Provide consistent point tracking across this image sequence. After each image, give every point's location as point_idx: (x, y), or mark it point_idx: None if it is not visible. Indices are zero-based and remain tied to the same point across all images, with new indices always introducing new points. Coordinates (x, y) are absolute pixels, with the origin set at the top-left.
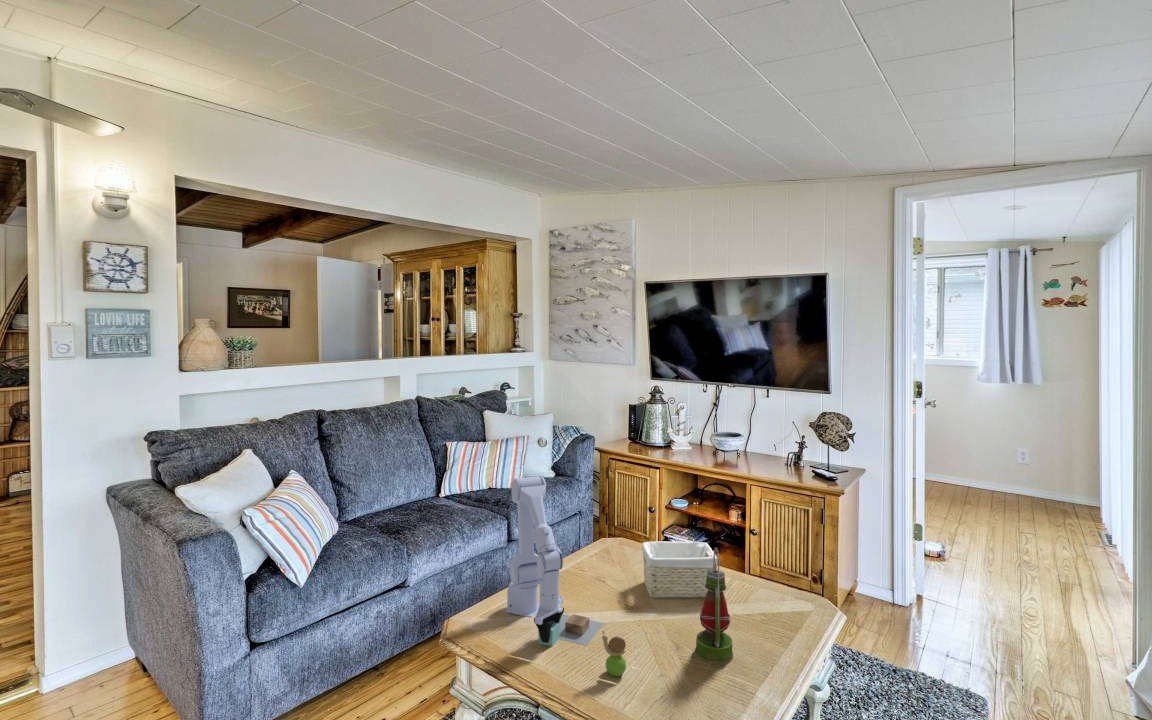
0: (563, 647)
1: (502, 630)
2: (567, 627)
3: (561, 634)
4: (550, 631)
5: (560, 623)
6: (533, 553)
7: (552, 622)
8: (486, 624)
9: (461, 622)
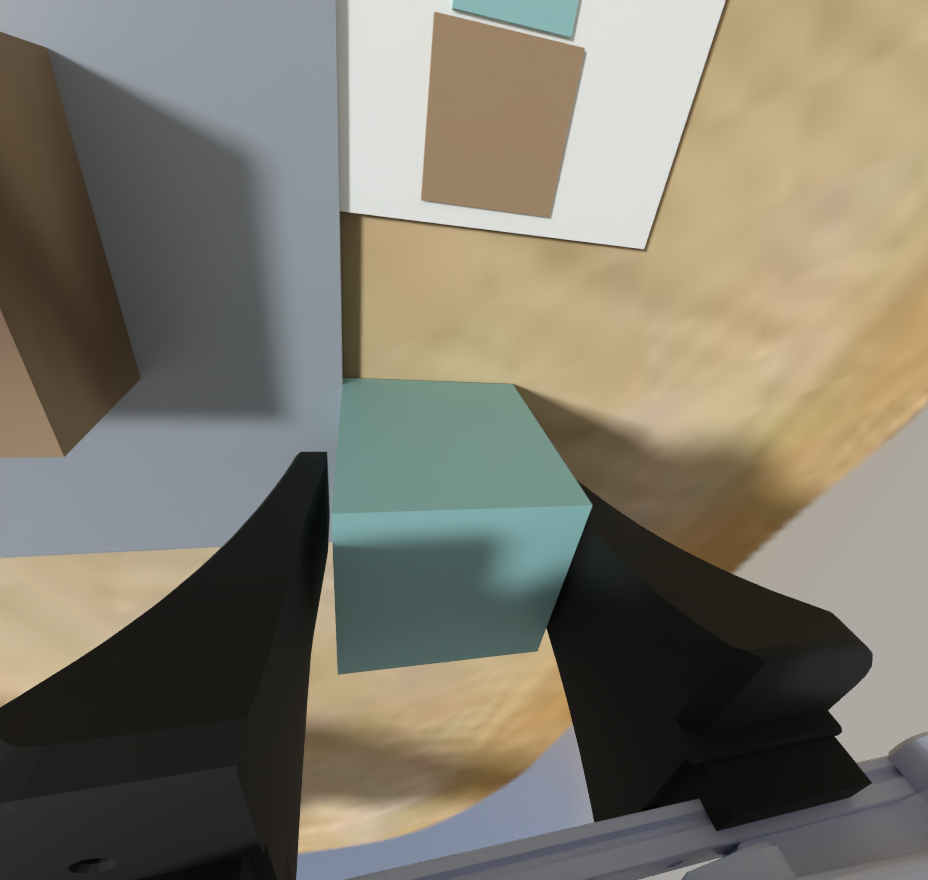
0: (472, 273)
1: (391, 721)
2: (95, 378)
3: (230, 397)
4: (576, 520)
5: None
6: None
7: (813, 642)
8: (367, 781)
9: (399, 824)
